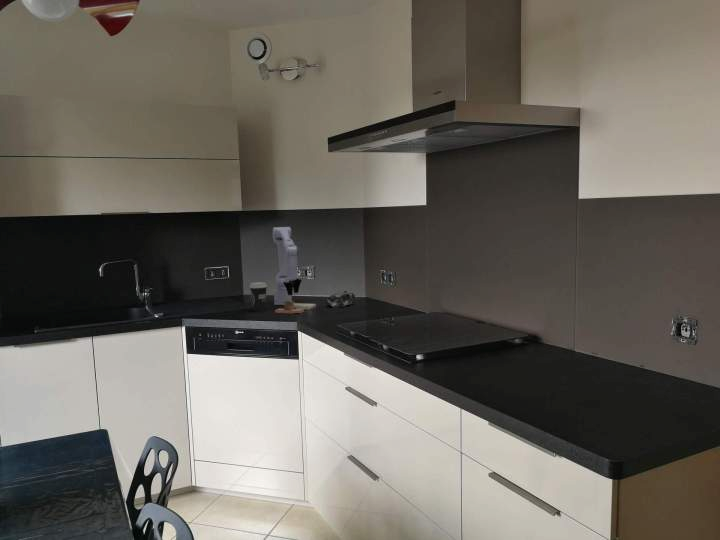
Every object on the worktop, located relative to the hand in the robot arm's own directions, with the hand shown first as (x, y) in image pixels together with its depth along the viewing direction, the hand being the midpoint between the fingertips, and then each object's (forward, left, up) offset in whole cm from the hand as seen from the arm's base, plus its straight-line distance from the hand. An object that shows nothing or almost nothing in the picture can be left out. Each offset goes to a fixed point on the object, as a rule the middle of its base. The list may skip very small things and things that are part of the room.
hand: (293, 293), depth 306 cm
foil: (+21, +16, -9) cm, 28 cm away
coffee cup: (-18, -5, -9) cm, 21 cm away
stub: (+1, -8, -9) cm, 11 cm away
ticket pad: (+1, +7, -9) cm, 11 cm away
